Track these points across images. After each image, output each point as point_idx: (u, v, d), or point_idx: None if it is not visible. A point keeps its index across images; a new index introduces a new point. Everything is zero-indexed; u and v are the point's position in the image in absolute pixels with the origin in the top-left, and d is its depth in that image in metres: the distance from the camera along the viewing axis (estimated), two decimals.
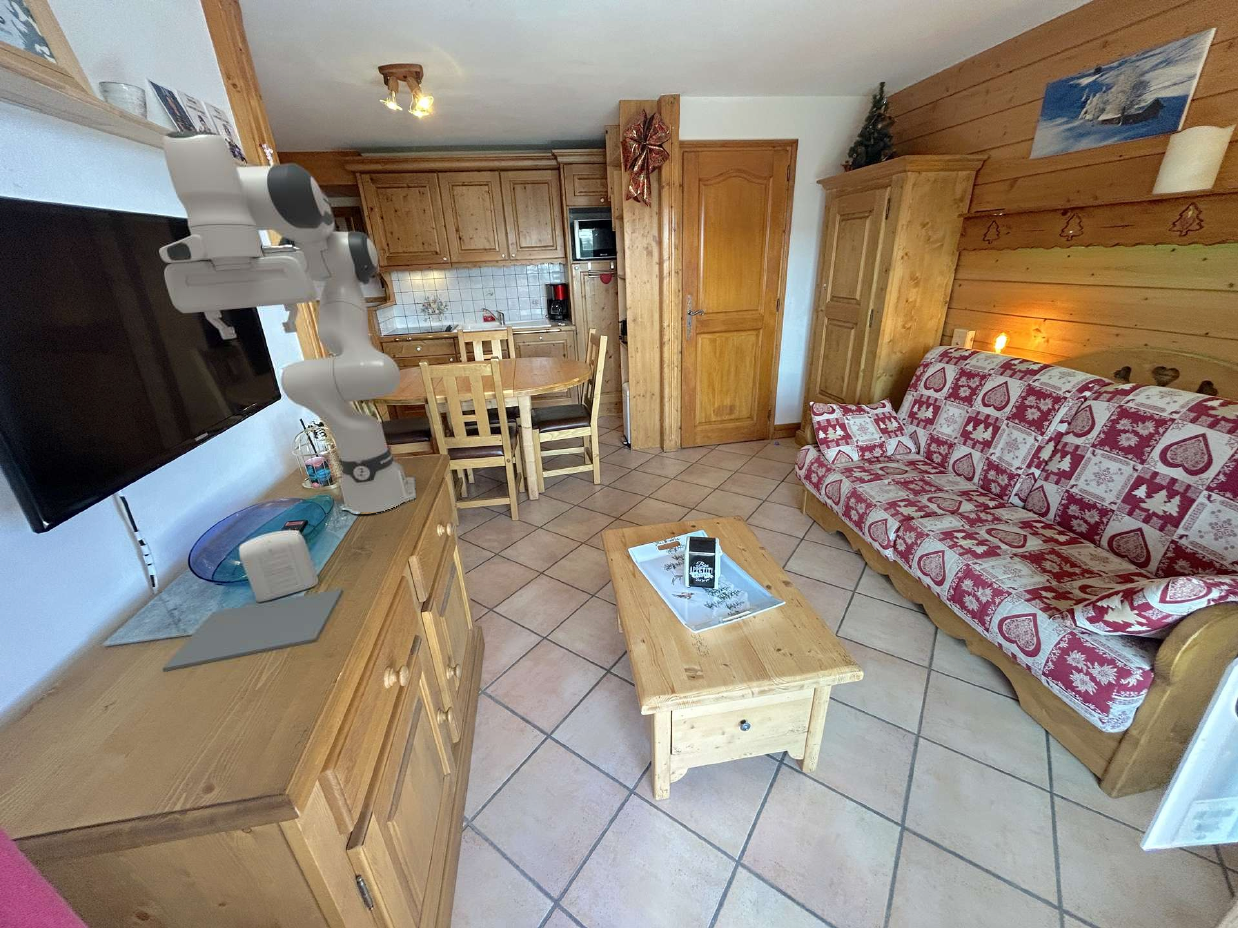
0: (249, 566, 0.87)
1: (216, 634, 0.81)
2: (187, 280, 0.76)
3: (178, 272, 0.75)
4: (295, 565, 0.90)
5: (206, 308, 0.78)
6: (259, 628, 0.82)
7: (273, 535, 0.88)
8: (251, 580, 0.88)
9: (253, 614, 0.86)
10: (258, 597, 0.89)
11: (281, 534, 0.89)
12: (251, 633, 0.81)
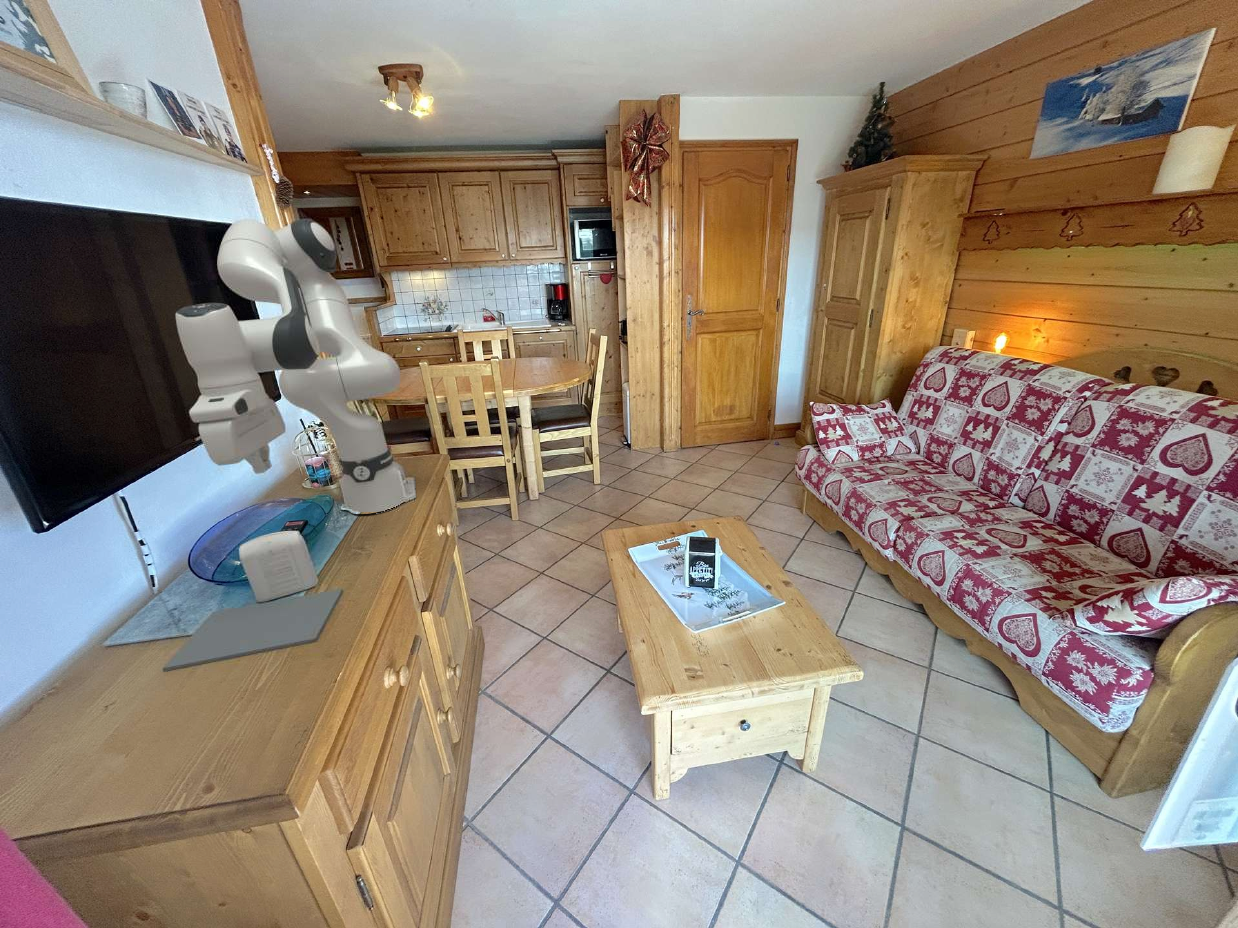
0: (249, 567, 0.87)
1: (216, 634, 0.81)
2: (235, 432, 0.81)
3: (235, 425, 0.80)
4: (295, 565, 0.90)
5: (249, 453, 0.84)
6: (259, 628, 0.82)
7: (273, 536, 0.88)
8: (251, 581, 0.88)
9: (253, 614, 0.86)
10: (258, 597, 0.89)
11: (281, 535, 0.89)
12: (251, 633, 0.81)
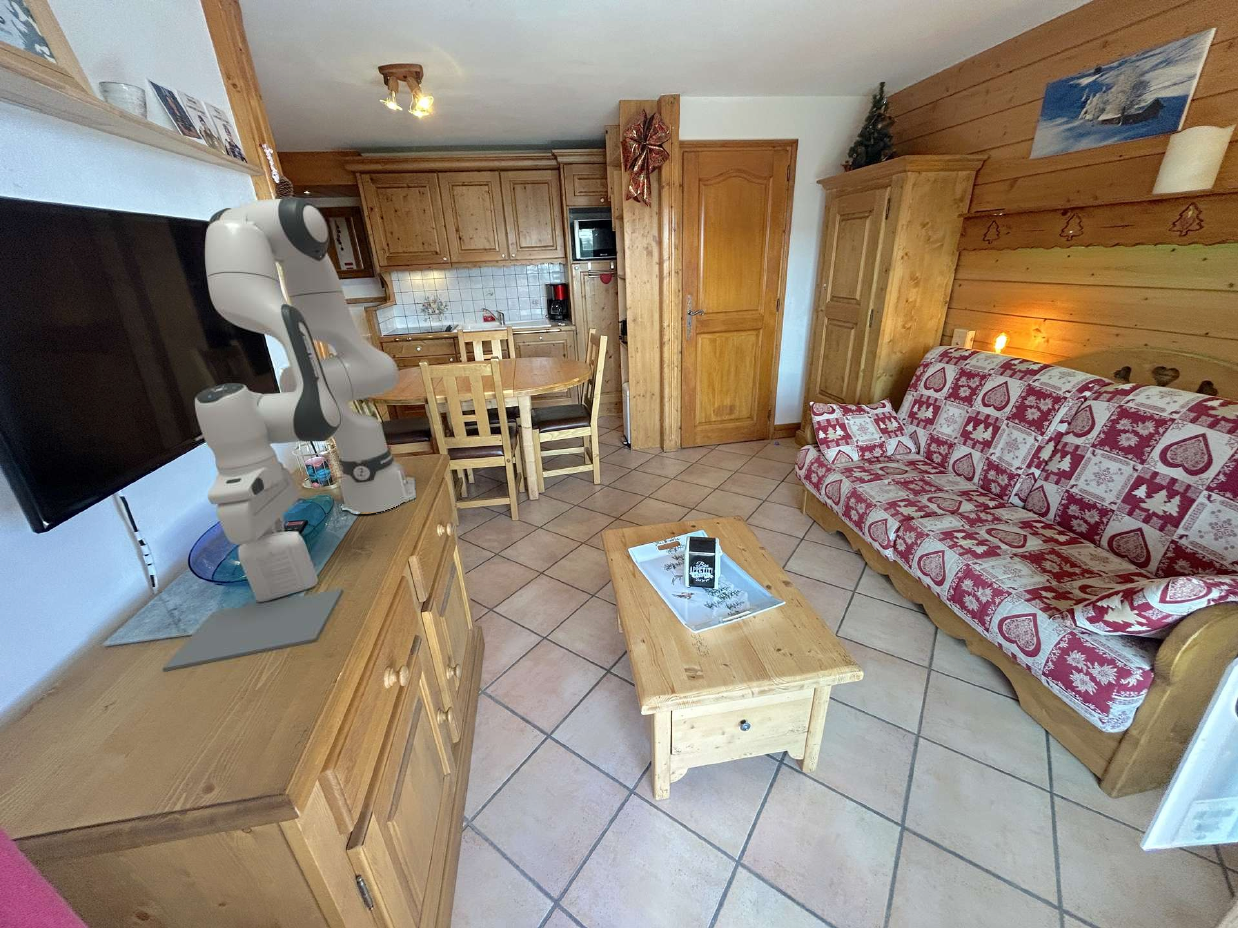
0: (249, 568, 0.86)
1: (216, 634, 0.81)
2: (251, 511, 0.83)
3: (252, 505, 0.82)
4: (295, 566, 0.90)
5: (265, 530, 0.86)
6: (259, 628, 0.82)
7: (272, 537, 0.88)
8: (251, 581, 0.87)
9: (253, 614, 0.86)
10: (258, 598, 0.89)
11: (280, 536, 0.88)
12: (251, 633, 0.81)
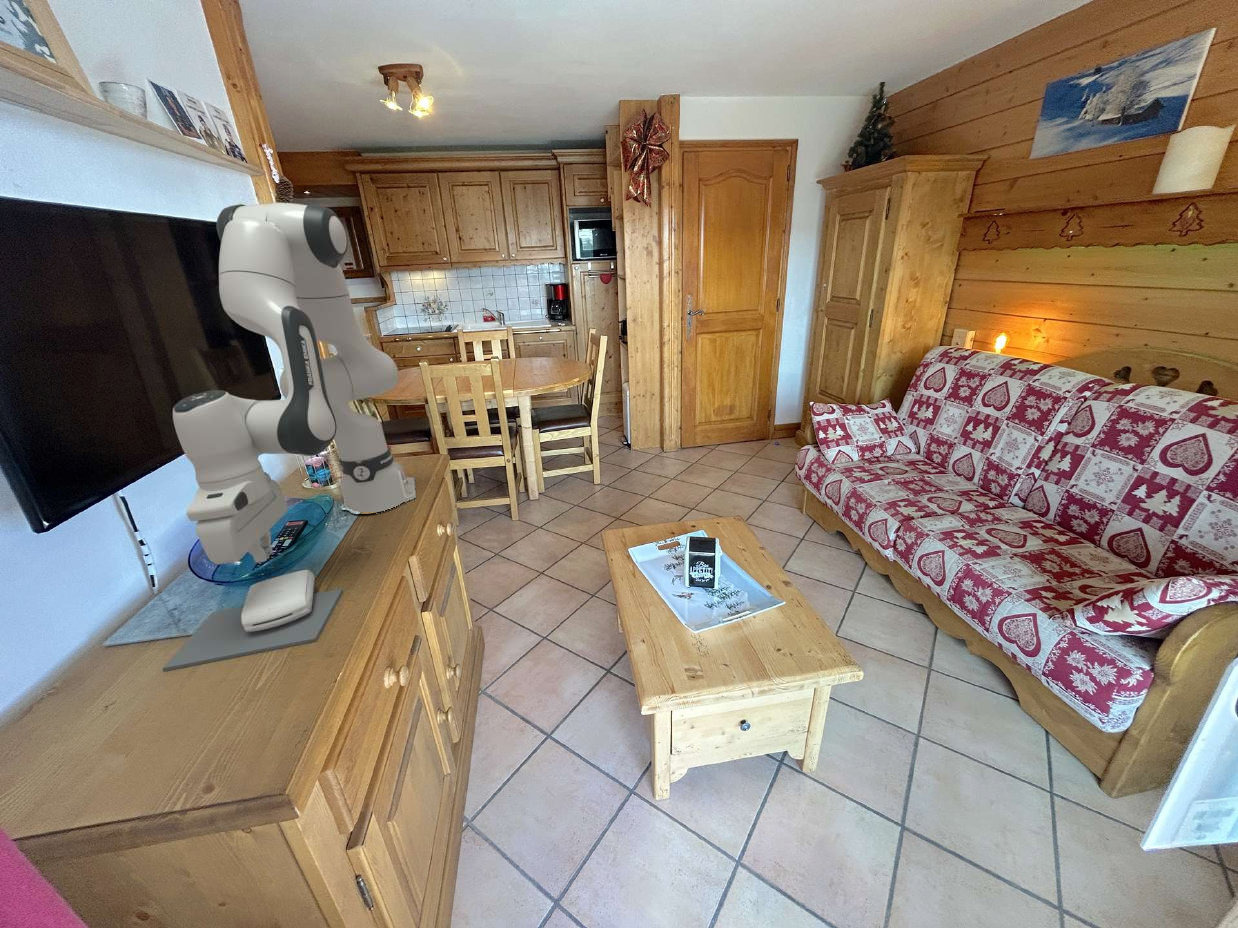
0: None
1: (216, 634, 0.81)
2: (234, 528, 0.77)
3: (235, 522, 0.76)
4: None
5: (249, 547, 0.80)
6: None
7: (283, 621, 0.81)
8: None
9: None
10: None
11: (292, 618, 0.82)
12: (251, 633, 0.81)
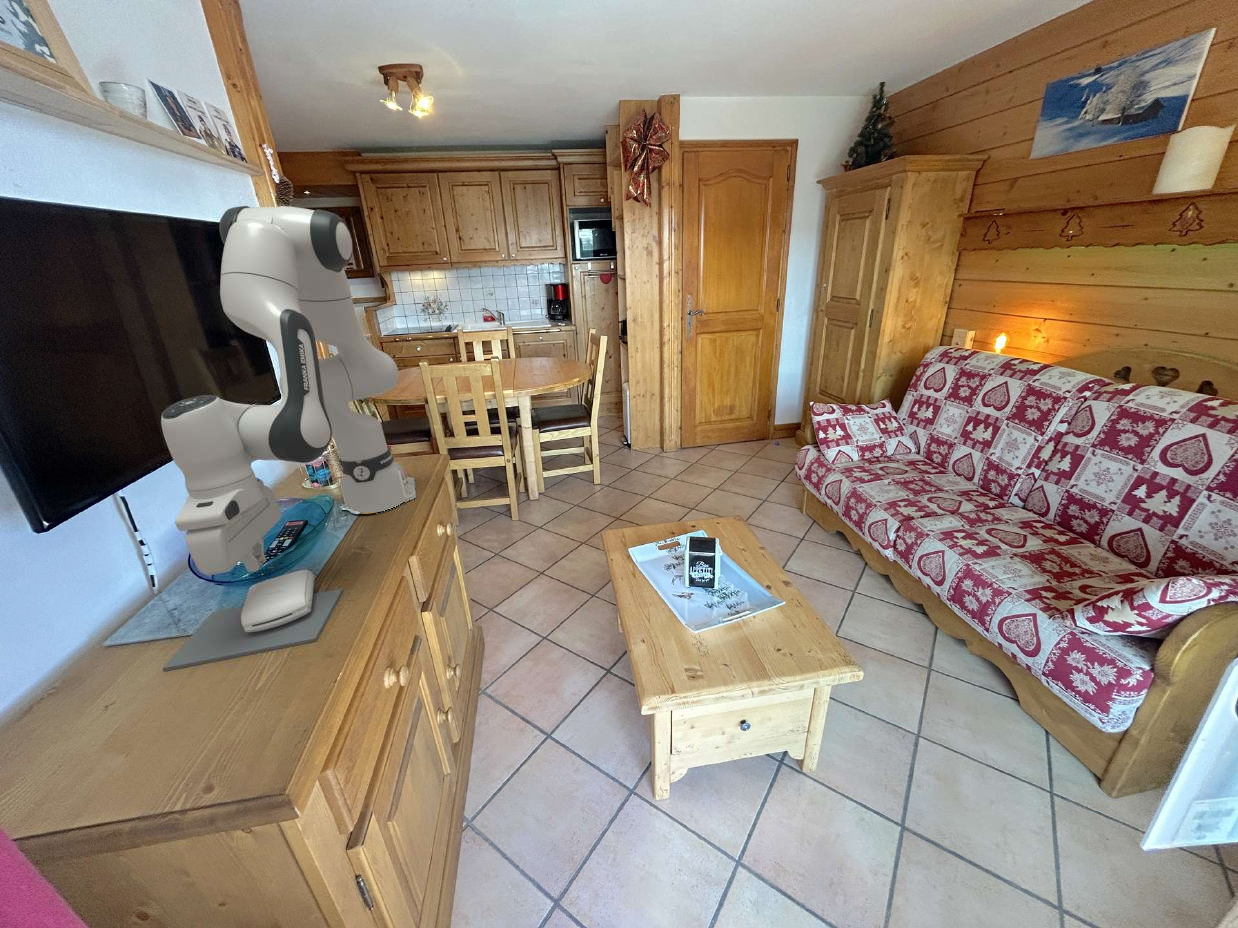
0: None
1: (216, 634, 0.81)
2: (225, 537, 0.75)
3: (226, 531, 0.74)
4: None
5: (241, 557, 0.77)
6: None
7: (283, 621, 0.81)
8: None
9: None
10: None
11: (292, 618, 0.81)
12: (251, 633, 0.81)
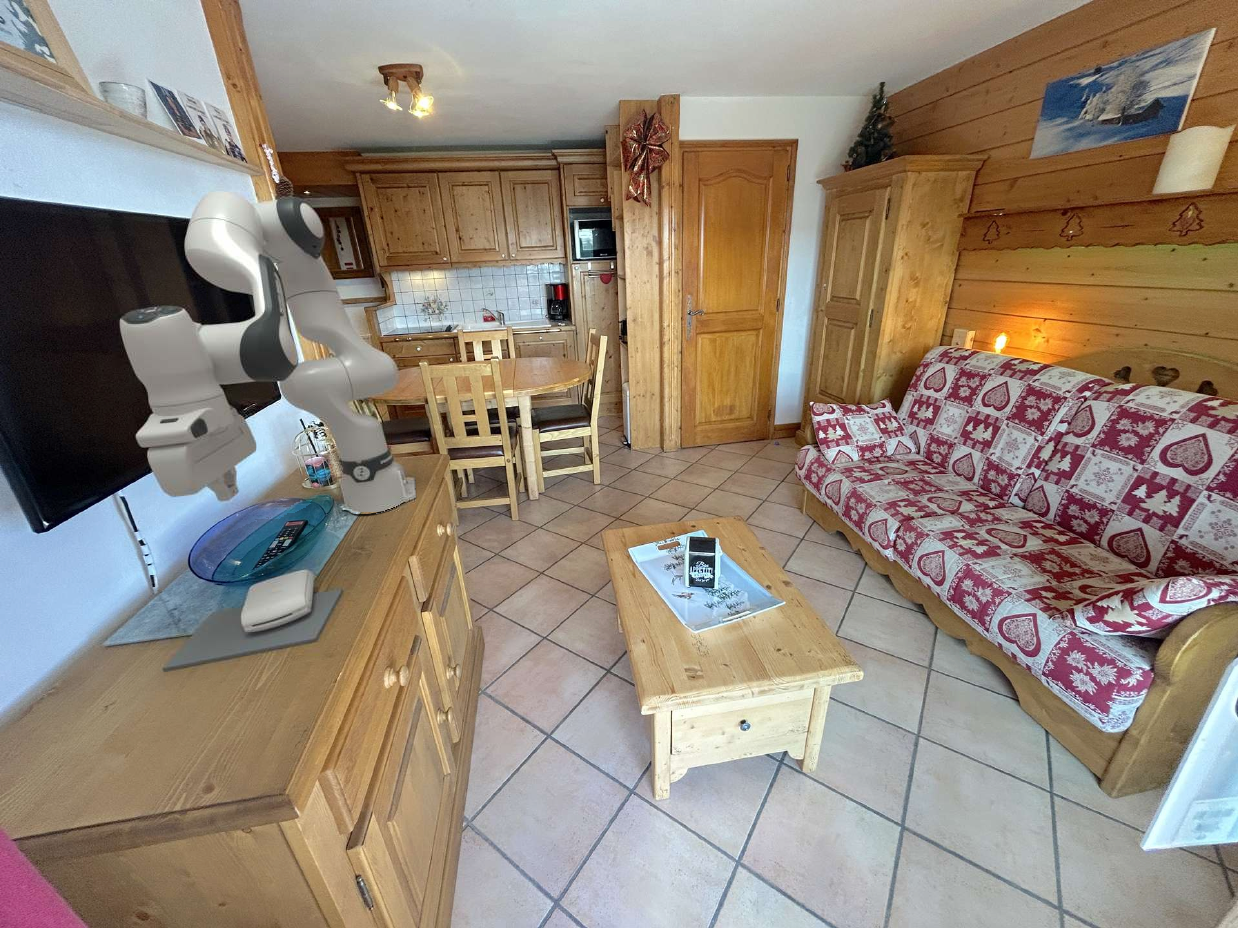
0: None
1: (216, 634, 0.81)
2: (192, 457, 0.70)
3: (192, 450, 0.69)
4: None
5: (210, 481, 0.73)
6: None
7: (283, 621, 0.81)
8: None
9: None
10: None
11: (292, 618, 0.81)
12: (251, 633, 0.81)
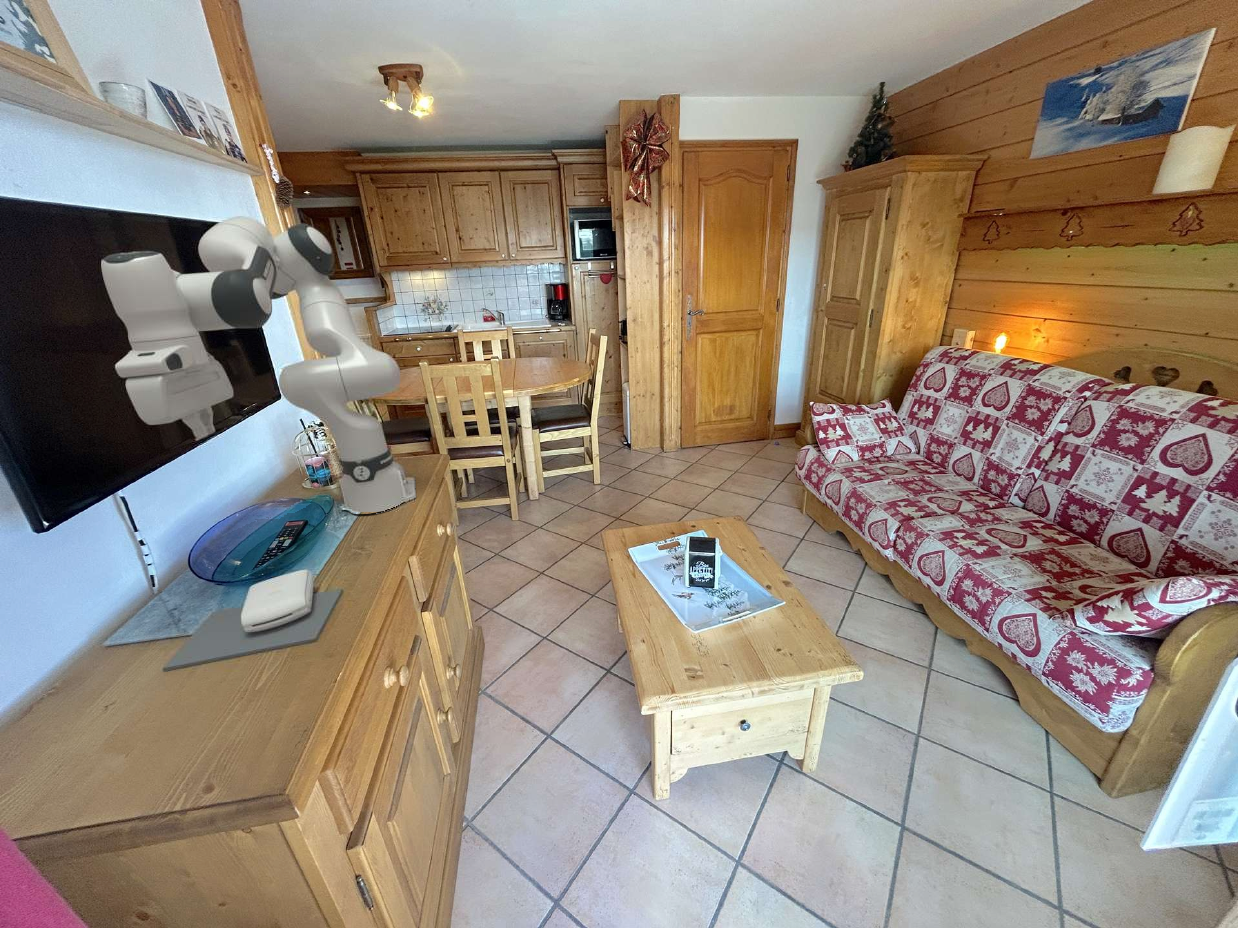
0: None
1: (216, 634, 0.81)
2: (167, 389, 0.76)
3: (167, 382, 0.75)
4: None
5: (185, 414, 0.78)
6: None
7: (283, 621, 0.81)
8: None
9: None
10: None
11: (292, 618, 0.81)
12: (251, 633, 0.81)
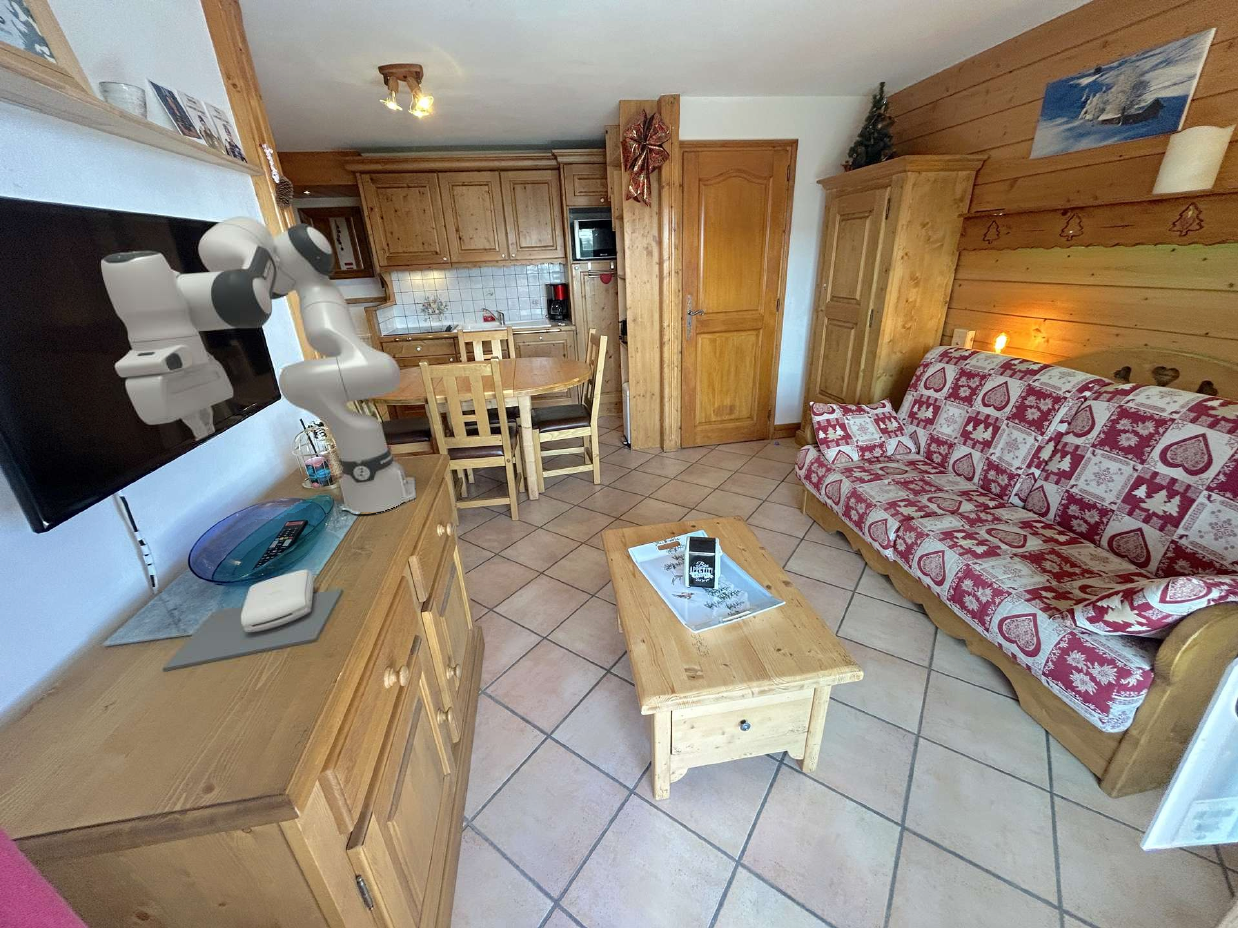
0: None
1: (216, 634, 0.81)
2: (167, 389, 0.76)
3: (167, 381, 0.75)
4: None
5: (185, 414, 0.78)
6: None
7: (283, 621, 0.81)
8: None
9: None
10: None
11: (292, 618, 0.81)
12: (251, 633, 0.81)
